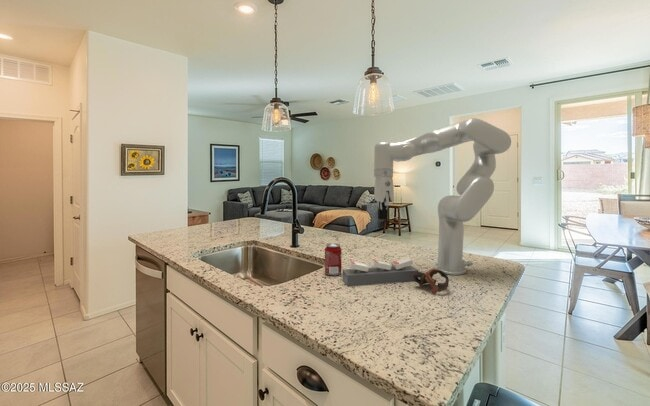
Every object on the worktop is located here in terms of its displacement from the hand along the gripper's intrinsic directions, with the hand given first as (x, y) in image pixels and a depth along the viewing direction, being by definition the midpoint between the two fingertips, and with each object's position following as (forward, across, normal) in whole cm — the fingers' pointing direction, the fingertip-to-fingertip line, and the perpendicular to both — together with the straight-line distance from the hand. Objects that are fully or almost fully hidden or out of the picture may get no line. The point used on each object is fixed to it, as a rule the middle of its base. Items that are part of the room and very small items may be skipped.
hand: (382, 218), depth 123 cm
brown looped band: (+23, -20, -11) cm, 32 cm away
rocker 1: (+17, -9, +13) cm, 23 cm away
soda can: (+23, +2, +20) cm, 30 cm away
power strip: (+22, -9, 0) cm, 24 cm away
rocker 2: (+17, -9, +4) cm, 19 cm away
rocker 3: (+16, -9, -5) cm, 19 cm away
